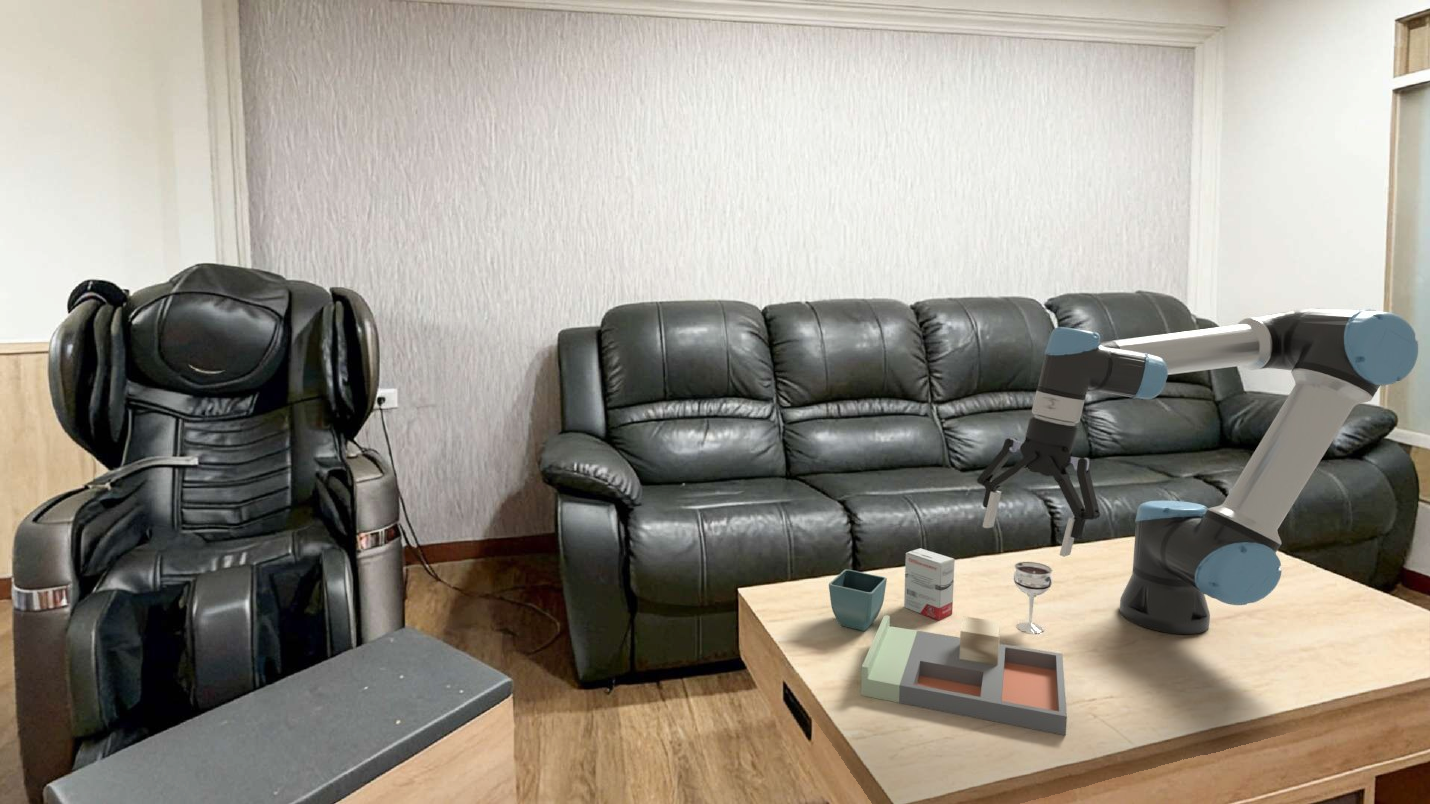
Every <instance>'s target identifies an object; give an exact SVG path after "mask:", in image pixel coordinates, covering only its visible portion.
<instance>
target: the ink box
mask: <svg viewBox="0 0 1430 804" xmlns="http://www.w3.org/2000/svg"><path fill="white" fill-rule="evenodd" d="M904 563H905V565H904V566H905V568H904V571H905V572H904V595H903V596H904V600H903V602H904V603H903V607H904V608H905V609H908V610H911V611H913V612H916V613H918V614H920V615H923V616H926V617H928V618H931V619H934V620H936V621H940V620H943V619H945V618H947V617H949V616H951V615H952V614H953V608H954V607H953V605H954V603H953V602H954V583H955V581H954V578H955V558H953V557H949V556H947V555H943V554H940V553H936V552H935V551H930V550H927V549H924V548H921V547H920V548H915V549H913V550H910V551H908V552H905V561H904Z"/></svg>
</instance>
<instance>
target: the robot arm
mask: <svg viewBox="0 0 1430 804" xmlns="http://www.w3.org/2000/svg"><path fill="white" fill-rule="evenodd" d="M1418 356H1419V341H1418V340H1417V339H1416V332H1415V330H1414V328H1413V327H1412V326H1411V324H1410V323H1409V322H1408V321H1407V320H1405V318H1403V317H1401V316H1400V315H1398V314H1395V313H1392V312H1388V311H1377V310H1375V309H1370V308H1369V309H1342V308H1341V309H1340V308H1338V309H1337V308H1325V307H1310V308H1309V307H1307V308H1303V309H1296V310H1290V311H1284V312H1279V313H1272V314H1267V315H1261V316H1254V317H1247V318H1243V319H1241V320H1240V321H1239V322H1238V323H1237V324H1235V325H1227V326H1226V325H1225V326H1218V327H1210V328H1203V329H1195V330H1186V331H1180V332H1171V333H1162V334H1155V335H1154V334H1153V335H1147V336H1140V337H1138V336H1137V337H1132V338H1131V337H1130V338H1124V339H1123V338H1122V339H1115V340H1109V341H1108V340H1107V341H1101V336H1100V334H1099V333H1098V332H1093V331H1089V330H1082V329H1078V328H1077V329H1076V328H1071V327H1066V326H1065V327H1064V326H1058V327H1055V328H1053V330H1052V331H1051V333H1050V336H1049V338H1048V342H1047V345H1046V347H1045V350H1044V358H1043V361H1042V362H1043V363H1042V366H1041V371H1040V375H1039V379H1038V384H1037V388H1036V392H1035V396H1034V401H1033V404H1032V408H1031V413H1032V414H1033V416H1031V418H1030V417H1029V420H1028V424H1027V429H1026V432H1025V439H1024V441H1023V442H1022V441H1019V440H1018V439H1017V438H1015V437H1012V438H1011V437H1010V438H1005V441H1004V442H1003V446H1002V448H1001V450H1000V451H999V452H998V454H997V455H996V456H995V457H994V458H993V459H992V461H991V462H990V463H989V464H988V465H987V467H985V469H984V470H983V471H982V473H981V474H980V475H979V476H978V478H977V479H976V482H977V483H978V484H980V485H982V486H983V487H984V488H985V493H984V498H983V500H982V501H983V502H982V507H983V508H985V509H986V511H985V514H984V518H983V522H982V528H984V529H990V528H994V525H995V522H996V517H997V512H998V509H999V504H1000V500H1001V496H1002V491H999V489H1000V487H1002V486H1004V485H1005V484H1007V483H1008V482H1010V481H1011V480H1013V479H1014V478H1015V477H1017V476H1018V475H1020V474H1021V473H1023V472H1024V471H1026V470H1029V471H1030V472H1033V473H1039V474H1041V475H1043V476H1045V477H1053V479H1054V481H1055V482H1057V484H1058V486H1059V488H1060V490H1061V492H1062V494H1063V496H1064V499H1065V501H1066V503H1067V505H1068V507H1069V508H1070V511H1071V513H1072V514H1073V516H1070V517H1068V519H1067V523H1066V528H1065V531H1064V536H1063V540H1062V543H1061V547H1060V550H1059V551H1060V552H1059V556H1061V557H1066V556H1070V555H1071V552H1072V549H1073V545H1074V541H1075V539H1076V540H1078V539H1080V538H1081V537H1082V535H1083V532H1084V526H1085V523H1086V521H1087V520H1096V519H1099V518H1100V516H1101V513H1100V510H1099V504H1098V500H1097V496H1096V492H1095V489H1094V483H1093V480H1092V475H1091V466H1092V460H1091V459H1090V457H1076V456H1073V448H1074V445H1075V441H1076V438H1077V433H1078V431H1079V430H1078V427H1077V425H1076V424H1078V423H1080V421H1081V417H1082V412H1083V408H1084V404H1085V400H1086V397H1087V393H1088V390H1089V391H1095V392H1101V393H1105V394H1106V393H1107V394H1111V395H1117V396H1122V397H1129V398H1131V399H1142V400H1151V399H1154V398H1156V397H1157V396H1159V395H1160V394H1161V393H1162V391H1163V390H1164V388H1165V386H1166V384H1167V379H1168V376H1169V375H1177V374H1184V373H1193V372H1201V371H1209V370H1217V369H1225V368H1233V367H1234V368H1235V367H1243V368H1245V369H1248V370H1252V371H1253V370H1262V369H1264V370H1265V369H1271V370H1272V369H1273V370H1274V369H1275V370H1283V371H1284V370H1286V371H1290V373H1291V376H1292V377H1293V381H1294V386H1293V388H1292V389H1291V391H1290V393H1289V395H1288V396H1287V398H1286V399H1285V401H1284V403H1283V405H1281V408H1280V409H1279V411H1278V412H1277V415H1276V416H1275V417H1274V419H1273V420H1272V423H1271V424H1270V426H1269V428H1268V429H1267V430H1266V432H1265V434H1264V436H1263V437H1262V439H1261V440H1260V442H1259V444H1258V446H1257V447H1256V449H1255V451H1254V452H1253V453H1252V455H1251V457H1250V459H1249V460H1248V462H1247V464H1246V465H1245V467H1244V468H1243V470H1242V472H1241V474H1239V476H1238V478H1237V480H1236V482H1235V483H1234V485H1233V487H1232V488H1231V490H1230V491H1229V493H1228V494H1227V496H1226V498H1225V500H1224V501H1223V502H1222V504H1220V505H1217V506H1213V507H1209V508H1208V507H1207V506H1206V505H1203V504H1199V503H1196V502H1189V501H1181V500H1179V501H1177V500H1151V501H1145V502H1142V503H1140V505H1139V506H1138V508H1137V511H1136V515H1135V516H1136V517H1135V519H1134V520H1135V521H1134V522H1135V529H1134V530H1135V531H1134V534H1135V535H1134V549H1133V559H1132V572H1131V576H1130V577H1129V580H1128V581H1127V584H1126V587H1125V588H1124V589H1123V592H1122V594H1121V596H1120V600H1119V612H1120V613H1121V616H1123V618H1126V619H1127V620H1128V621H1130V622H1132V623H1134V624H1136V625H1138V626H1142V627H1143V628H1147V629H1150V630H1154V631H1158V632H1162V633H1167V634H1168V633H1169V634H1176V635H1177V634H1178V635H1193V634H1199V633H1203V632H1206V631H1207V630H1208V629H1209V628H1210V620H1211V613H1210V610H1209V606H1208V603H1207V599H1206V596H1208V597H1209V598H1212V599H1215V600H1217V601H1220V602H1221V603H1223V604H1226V605H1232V606H1246V605H1247V604H1251V603H1252V604H1254V603H1257V602H1258V601H1260V600H1263V599H1264V598H1266V597H1267V596H1269V594H1271V593H1272V592H1273V591H1274V590H1275V589H1276V587H1277V586H1278V584H1279V582H1280V581H1281V580H1280V579H1281V577H1282V569H1281V568H1280V567H1281V566H1282V563H1281V559H1280V558H1279V557H1278V555H1277V552H1278V550H1279V548H1280V547H1281V545H1282V540H1281V538H1280V536H1279V535H1280V534H1279V533H1278V529H1279V528H1280V526H1281V524H1282V523H1283V521H1284V519H1285V518H1286V517H1287V514H1289V512H1290V511H1291V508H1292V507H1293V505H1295V502H1296V500H1297V499H1298V497H1299V496H1300V494H1301V492H1302V490H1303V489H1304V487H1305V486H1306V484H1307V483H1308V481H1309V479H1310V478H1311V476H1312V474H1313V473H1314V471H1315V469H1316V468H1317V467H1318V465H1319V463H1320V462H1321V460H1322V458H1323V457H1324V456H1325V454H1326V452H1327V450H1328V448H1330V446H1331V444H1332V442H1333V441H1334V439H1335V437H1336V436H1337V434H1338V433H1339V432H1340V430H1341V428H1342V426H1343V424H1344V423H1345V421H1346V420H1347V419H1348V417H1349V415H1350V413H1351V412H1352V410H1353V409H1354V407H1355V406H1358V405H1361V404H1364V403H1368V402H1371V401H1372V399H1373V398H1374V396H1375V395H1376V393H1377V391H1378V390H1379V389H1380V387H1381V386H1382V387H1384V386H1387V385H1388V386H1389V385H1393V384H1395V383H1397V382H1401V381H1402V380H1403V379H1405V378H1406V377H1407V376H1409V374H1411V372H1412V371H1413V369H1414V367H1415V365H1416V362H1417V359H1418ZM1018 451H1020V453H1021V456H1022V459H1020V460H1019V461H1017V462H1016V463H1015V464H1014V465H1013V466H1011V467H1010V468H1008V469H1007V470H1006V471H1004V472H1003V473H1001V474H999V475H997V473H998V472H999V471H1000V470H1001V469H1002V467H1004V465H1005V464H1006V462H1008V460H1009V459H1010V458H1011V457H1012V456H1013V454H1014V453H1017V452H1018ZM1071 464H1072V465H1073V469H1074V470H1075V471H1076V475H1077V480H1078V485H1079V489H1080V493H1081V497H1082V500H1083V501H1082V500H1081V499H1080V497H1079V494H1078V492H1077V491H1076V489H1075V487H1074V484H1073V483H1072V481H1071V477H1070V474H1069V473H1068V471H1067V470H1068V469H1066V468H1067V467H1069V466H1070V465H1071ZM995 475H997V477H995ZM994 477H995V478H994ZM993 478H994V479H993ZM1205 595H1206V596H1205Z"/></svg>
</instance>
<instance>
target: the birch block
mask: <svg viewBox="0 0 1430 804" xmlns="http://www.w3.org/2000/svg"><path fill="white" fill-rule="evenodd" d="M1000 635H1001V621H1000V620H999V621H998V620H992V619H985V618H979V617H970V616H963V618H962V623H961V627H960V636H959V637H960V657H959V659H963V660H969V661H975V662H981V663H987V664H993V665H998V654H999V644H1000V638H1001V637H1000Z"/></svg>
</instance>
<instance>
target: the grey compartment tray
mask: <svg viewBox="0 0 1430 804" xmlns="http://www.w3.org/2000/svg"><path fill="white" fill-rule="evenodd" d="M890 619H891V617H890V615H887V614H885V615H883V617H882V620H881V621H880V623H879V627H878V628H877V631H876V633H875V636H874V638H873V640H872V642H871V644H870V646H869V649H868V652H867V654H866V656H865V657H864V661H863V662H862V665H861V691H860V692H861V694H860V696H863V697H868V698H874V699H879V700H883V701H887V702H894V703H898V704H902V705H903V704H905V705H908V706H913V707H919V708H923V709H924V708H925V709H929V710H934V711H940V712H944V713H949V714H955V715H960V716H965V717H970V718H974V719H980V720H985V721H991V722H995V723H1000V724H1006V725H1011V726H1015V727H1020V728H1024V729H1025V728H1027V729H1032V730H1037V731H1039V732H1040V731H1041V732H1046V733H1052V734H1057V735H1062V736H1067V722H1068V715H1067V714H1068V713H1067V698H1066V686H1065V673H1064V672H1065V671H1064V657H1063V653H1060V652H1055V651H1054V652H1052V651H1046V650H1040V649H1036V648H1035V649H1034V648H1029V647H1022V646H1017V645H1009V644H1003V643H999V654H998V665H993V664H987V663H981V662H975V661H969V660H963V659H959V657H960V636H953V635H949V634H948V635H947V634H946V635H945V634H940V633H934V632H928V631H923V630H922V631H921V630H916V629H915V630H914V629H911V628H909V629H908V628H903V627H898V626H897V627H895V626H890V625H891V624H890V623H891V622H890Z"/></svg>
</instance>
